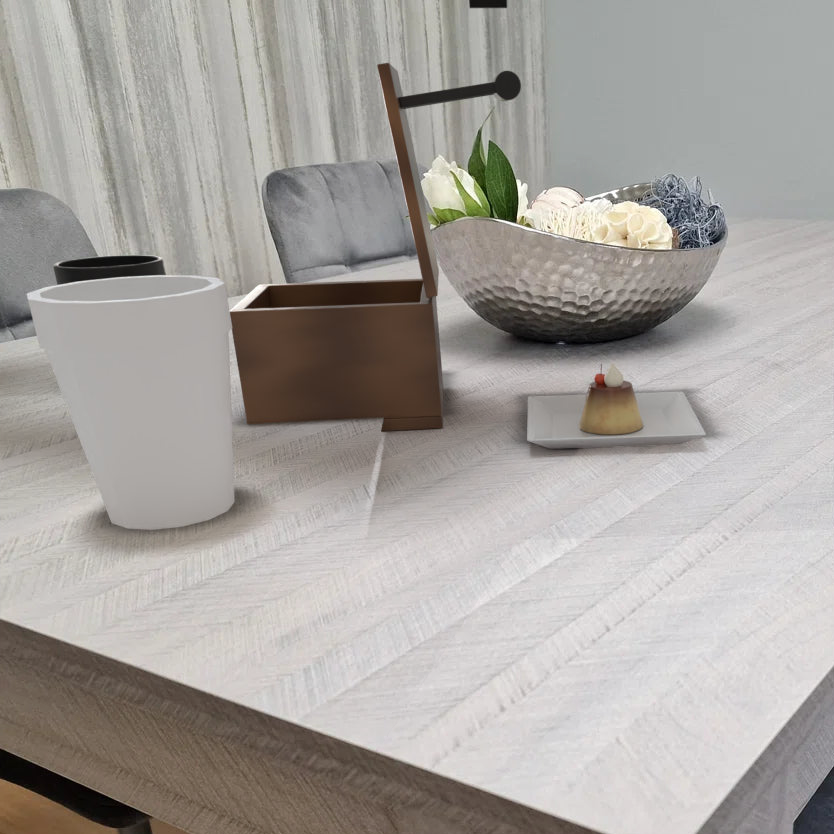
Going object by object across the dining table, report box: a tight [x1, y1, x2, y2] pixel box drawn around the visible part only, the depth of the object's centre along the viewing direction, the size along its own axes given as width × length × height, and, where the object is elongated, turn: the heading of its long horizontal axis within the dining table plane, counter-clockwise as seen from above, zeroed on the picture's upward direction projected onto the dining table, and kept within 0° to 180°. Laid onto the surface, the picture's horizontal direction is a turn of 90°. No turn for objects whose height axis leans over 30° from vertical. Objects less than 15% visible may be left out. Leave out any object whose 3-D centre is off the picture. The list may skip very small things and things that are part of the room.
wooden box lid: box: [376, 62, 522, 298], centre depth 75 cm, size 15×13×9 cm
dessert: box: [526, 363, 707, 450], centre depth 74 cm, size 12×12×5 cm
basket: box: [230, 278, 444, 432], centre depth 79 cm, size 14×13×9 cm
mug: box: [52, 254, 167, 285], centre depth 97 cm, size 9×12×9 cm
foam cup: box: [26, 274, 235, 531], centre depth 56 cm, size 10×9×13 cm
